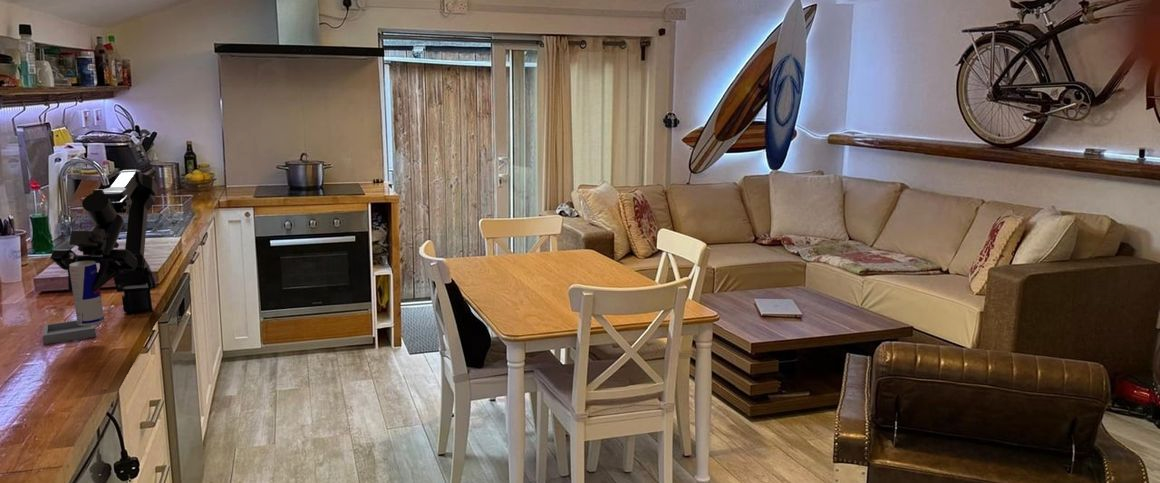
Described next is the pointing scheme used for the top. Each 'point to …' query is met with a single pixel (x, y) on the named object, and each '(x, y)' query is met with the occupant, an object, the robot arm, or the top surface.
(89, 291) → the beverage can
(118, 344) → the top surface
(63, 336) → the tray
